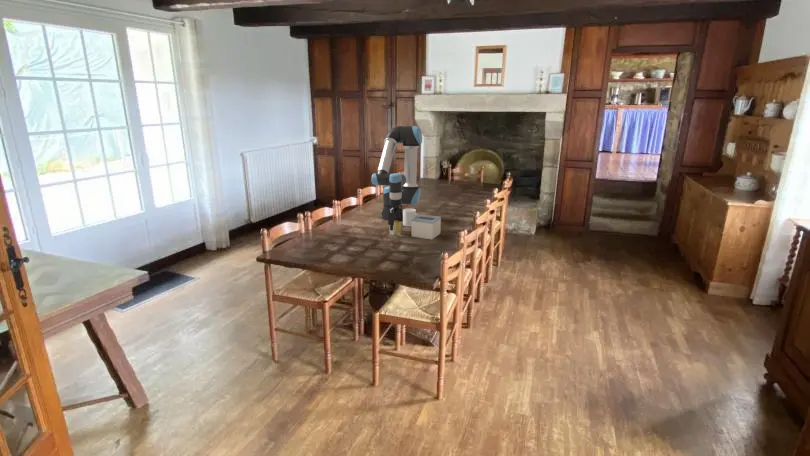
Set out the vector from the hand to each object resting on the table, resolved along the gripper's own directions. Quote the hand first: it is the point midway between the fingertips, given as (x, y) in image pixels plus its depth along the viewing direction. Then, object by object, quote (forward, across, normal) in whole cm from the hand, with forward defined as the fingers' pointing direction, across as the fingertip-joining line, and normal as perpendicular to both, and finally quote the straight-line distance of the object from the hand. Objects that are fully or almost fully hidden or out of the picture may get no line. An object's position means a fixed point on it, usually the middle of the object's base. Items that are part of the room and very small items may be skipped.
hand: (395, 232), depth 276 cm
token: (0, 0, 0) cm, 0 cm away
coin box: (0, +5, -19) cm, 20 cm away
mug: (0, +20, -2) cm, 20 cm away
